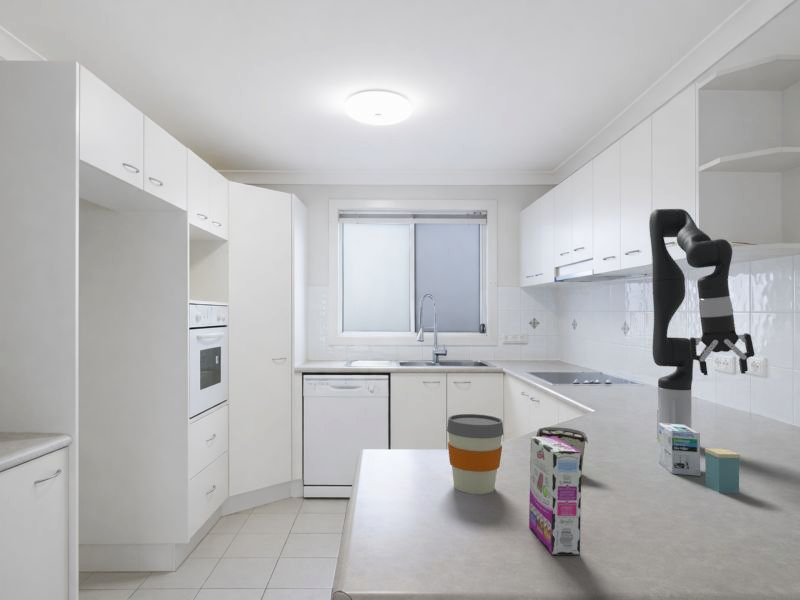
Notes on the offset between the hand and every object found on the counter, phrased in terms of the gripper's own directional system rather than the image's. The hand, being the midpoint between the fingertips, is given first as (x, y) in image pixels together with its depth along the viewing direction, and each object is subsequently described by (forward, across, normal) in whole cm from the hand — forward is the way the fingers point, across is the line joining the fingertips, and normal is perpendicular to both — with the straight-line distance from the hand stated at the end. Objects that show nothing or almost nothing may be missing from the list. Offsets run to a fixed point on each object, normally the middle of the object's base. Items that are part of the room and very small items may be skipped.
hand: (723, 374), depth 131 cm
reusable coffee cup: (+14, +57, +51) cm, 77 cm away
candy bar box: (+14, +37, +70) cm, 80 cm away
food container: (+18, +41, +27) cm, 52 cm away
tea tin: (+22, +7, +25) cm, 34 cm away
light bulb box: (+22, +14, +12) cm, 29 cm away
